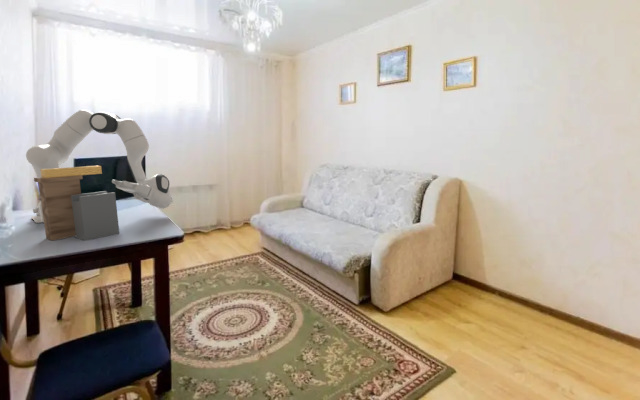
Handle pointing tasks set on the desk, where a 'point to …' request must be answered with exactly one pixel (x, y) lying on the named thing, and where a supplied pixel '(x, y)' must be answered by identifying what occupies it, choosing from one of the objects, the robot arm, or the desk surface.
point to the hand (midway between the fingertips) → (118, 181)
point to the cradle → (95, 215)
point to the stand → (58, 205)
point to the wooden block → (70, 171)
